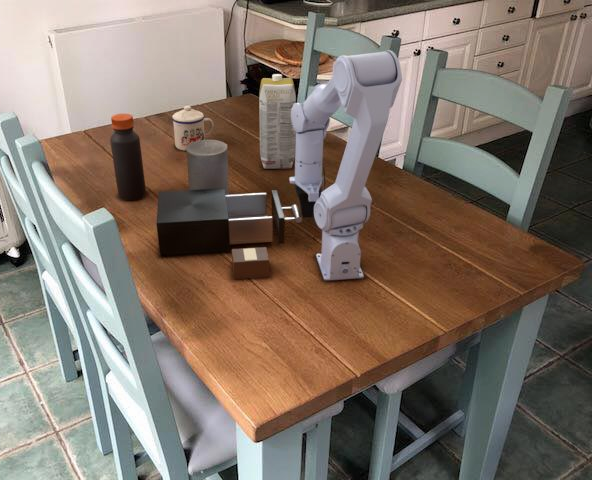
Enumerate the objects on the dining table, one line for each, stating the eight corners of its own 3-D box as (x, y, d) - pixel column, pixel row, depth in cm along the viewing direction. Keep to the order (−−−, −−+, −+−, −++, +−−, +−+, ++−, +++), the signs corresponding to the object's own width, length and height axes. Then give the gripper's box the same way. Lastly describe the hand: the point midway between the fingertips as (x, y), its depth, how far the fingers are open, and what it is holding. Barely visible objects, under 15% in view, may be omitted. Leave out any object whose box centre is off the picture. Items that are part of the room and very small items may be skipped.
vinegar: (119, 202, 153) (107, 123, 142) (117, 190, 159) (106, 113, 148) (147, 199, 155) (138, 120, 144) (144, 187, 160) (135, 110, 149)
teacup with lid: (181, 153, 178) (177, 113, 172) (170, 143, 185) (166, 104, 179) (220, 146, 183) (218, 107, 177) (208, 136, 190) (205, 98, 184)
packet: (269, 277, 126) (269, 259, 123) (234, 279, 125) (233, 261, 123) (266, 263, 130) (266, 246, 128) (232, 265, 129) (231, 248, 127)
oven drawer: (294, 213, 146) (295, 188, 143) (304, 242, 135) (305, 216, 132) (218, 217, 145) (216, 193, 141) (221, 248, 133) (219, 221, 130)
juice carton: (293, 158, 176) (294, 71, 163) (295, 170, 169) (296, 80, 156) (259, 158, 175) (258, 72, 162) (260, 170, 169) (259, 81, 156)
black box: (226, 219, 146) (224, 187, 141) (230, 252, 133) (228, 218, 129) (162, 223, 144) (158, 191, 140) (160, 257, 132) (156, 223, 128)
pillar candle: (184, 195, 156) (179, 138, 148) (220, 187, 160) (217, 131, 152) (198, 212, 149) (194, 152, 141) (236, 203, 153) (234, 144, 144)
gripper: (285, 146, 138) (284, 202, 145) (295, 174, 126) (293, 233, 133) (317, 145, 138) (315, 200, 146) (329, 172, 126) (326, 231, 134)
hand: (307, 216), depth 139 cm, fingers closed
